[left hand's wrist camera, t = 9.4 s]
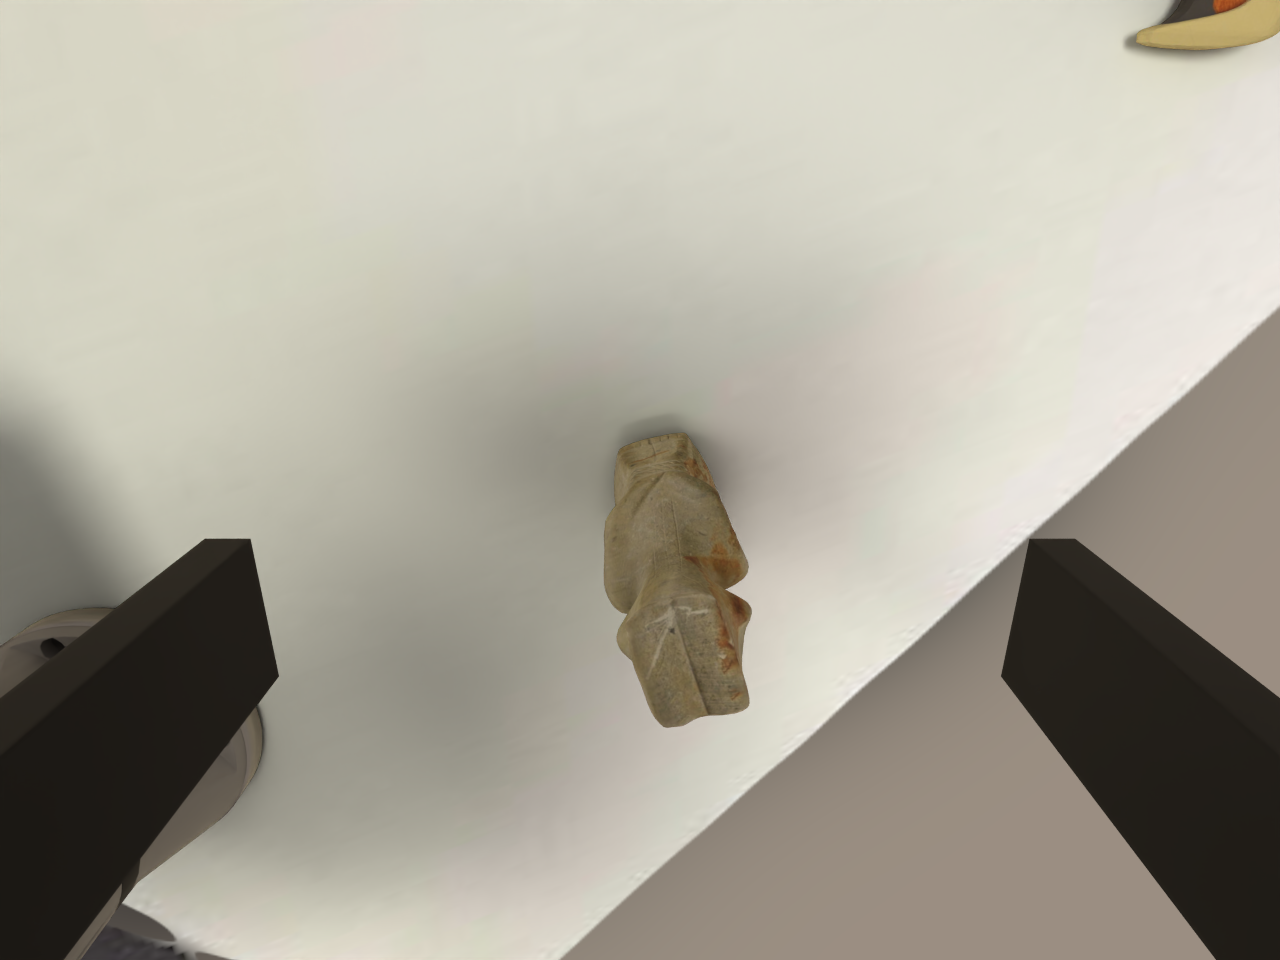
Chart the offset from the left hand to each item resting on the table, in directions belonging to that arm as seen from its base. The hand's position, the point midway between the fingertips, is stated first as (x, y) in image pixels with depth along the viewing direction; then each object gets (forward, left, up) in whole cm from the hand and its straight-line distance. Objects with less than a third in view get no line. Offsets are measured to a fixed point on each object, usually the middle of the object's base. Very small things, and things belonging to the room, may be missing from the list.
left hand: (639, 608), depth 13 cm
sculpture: (-5, -6, -24) cm, 26 cm away
